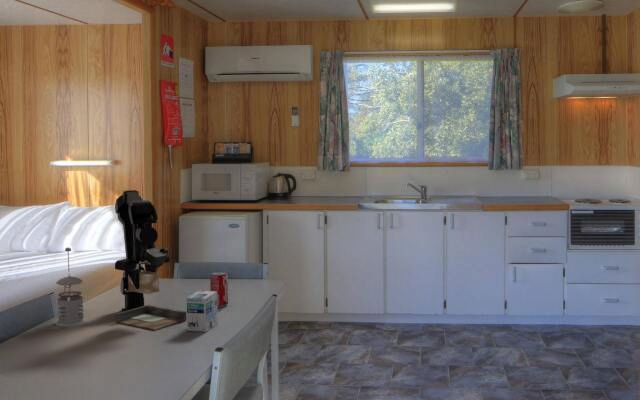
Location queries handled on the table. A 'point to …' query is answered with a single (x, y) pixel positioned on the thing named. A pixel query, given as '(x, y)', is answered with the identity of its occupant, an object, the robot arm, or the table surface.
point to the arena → (151, 317)
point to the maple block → (145, 282)
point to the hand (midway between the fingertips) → (143, 287)
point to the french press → (70, 302)
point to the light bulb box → (202, 311)
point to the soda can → (220, 287)
